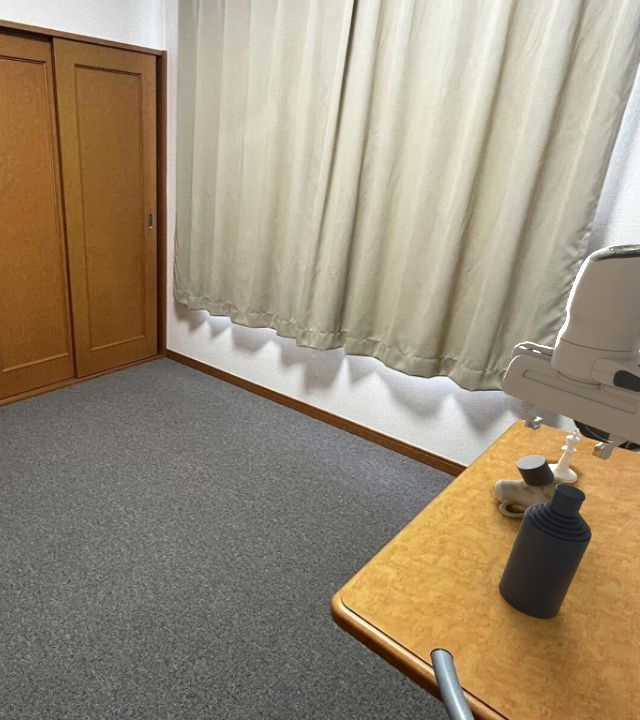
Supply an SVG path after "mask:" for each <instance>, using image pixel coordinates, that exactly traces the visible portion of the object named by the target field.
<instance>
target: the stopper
mask: <svg viewBox="0 0 640 720" xmlns="http://www.w3.org/2000/svg"><path fill="white" fill-rule="evenodd" d="M515 466H516V468H517V470H518V472H519V474H520V476H521V479H523V480H524V481H525V483H526V484H528V485H530V486H543V485H546V484H549V483H550V482H552V481H553V480H554V474H553V472H552V470H551V469H550V467H549V463H548V461H547V459H546V457H544V456H542V455H540V454H531V455H526V456H523V457H521V458H519V459H518V460H517V461H516V462H515Z"/></svg>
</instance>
